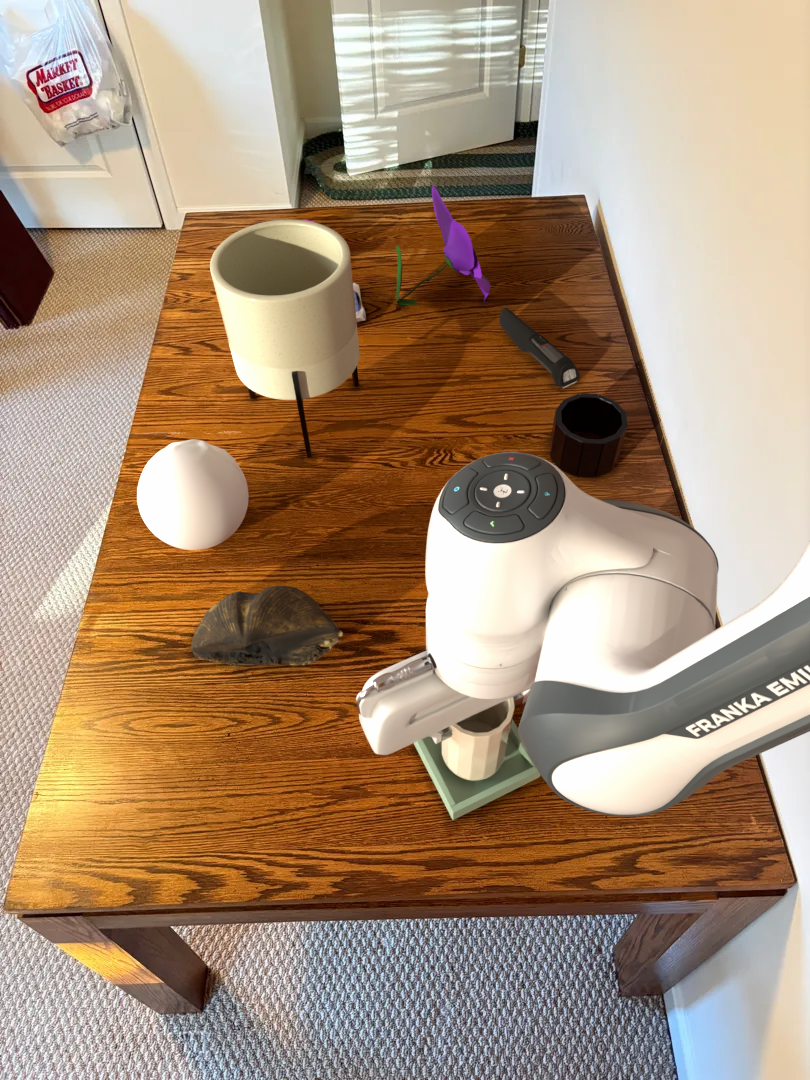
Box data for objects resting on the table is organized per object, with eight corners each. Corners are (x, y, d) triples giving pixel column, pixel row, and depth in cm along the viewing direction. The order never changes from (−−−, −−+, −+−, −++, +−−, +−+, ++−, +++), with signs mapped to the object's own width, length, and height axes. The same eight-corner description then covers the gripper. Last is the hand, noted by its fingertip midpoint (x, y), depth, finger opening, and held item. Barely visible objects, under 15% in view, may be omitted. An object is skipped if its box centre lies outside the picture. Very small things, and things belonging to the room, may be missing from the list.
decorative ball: (273, 502, 95) (255, 431, 85) (230, 581, 88) (206, 514, 79) (183, 481, 97) (157, 410, 88) (135, 557, 91) (100, 488, 81)
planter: (391, 416, 103) (382, 260, 85) (288, 473, 98) (255, 319, 79) (326, 356, 111) (305, 201, 92) (227, 406, 105) (184, 251, 87)
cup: (517, 763, 73) (527, 718, 65) (459, 791, 72) (463, 748, 64) (485, 709, 77) (491, 660, 69) (430, 735, 75) (430, 688, 67)
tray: (540, 777, 74) (542, 769, 72) (452, 820, 72) (453, 813, 70) (492, 696, 79) (493, 686, 77) (408, 734, 77) (408, 725, 75)
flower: (436, 359, 117) (511, 302, 115) (389, 295, 105) (472, 231, 103) (399, 304, 126) (468, 250, 123) (351, 239, 114) (427, 177, 111)
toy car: (356, 277, 122) (355, 262, 120) (367, 325, 115) (366, 310, 113) (333, 280, 122) (331, 265, 119) (343, 328, 114) (341, 313, 112)
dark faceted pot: (631, 463, 97) (642, 428, 92) (573, 486, 95) (580, 452, 90) (593, 420, 102) (601, 385, 97) (537, 441, 100) (542, 406, 95)
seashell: (184, 679, 80) (168, 631, 76) (203, 616, 87) (189, 569, 83) (344, 677, 80) (338, 629, 75) (350, 614, 87) (345, 566, 82)
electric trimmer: (513, 320, 115) (515, 301, 112) (581, 380, 106) (584, 361, 104) (492, 329, 114) (493, 311, 111) (558, 390, 105) (561, 372, 103)
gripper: (373, 730, 53) (383, 800, 64) (628, 614, 58) (596, 698, 69) (337, 655, 56) (352, 734, 67) (581, 551, 61) (558, 641, 72)
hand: (477, 715), depth 68 cm, fingers closed on cup, 6 cm apart
